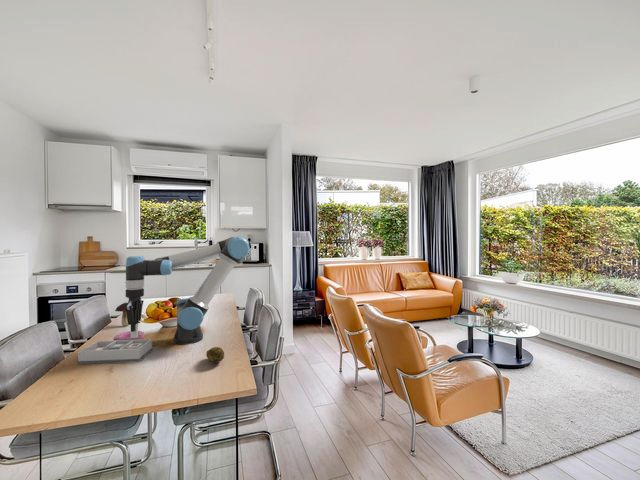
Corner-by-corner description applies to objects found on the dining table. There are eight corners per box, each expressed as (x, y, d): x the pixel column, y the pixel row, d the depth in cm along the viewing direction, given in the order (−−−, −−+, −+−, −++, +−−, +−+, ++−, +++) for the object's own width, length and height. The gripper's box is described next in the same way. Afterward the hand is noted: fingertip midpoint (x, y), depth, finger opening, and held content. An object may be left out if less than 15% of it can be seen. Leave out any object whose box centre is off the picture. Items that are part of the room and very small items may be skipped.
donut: (107, 349, 152) (107, 339, 152) (120, 339, 166) (120, 330, 166) (138, 347, 155) (138, 337, 155) (148, 338, 169) (148, 329, 169)
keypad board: (152, 350, 151) (152, 339, 151) (139, 361, 137) (139, 349, 137) (97, 352, 148) (97, 340, 148) (77, 364, 134) (77, 351, 134)
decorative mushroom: (139, 324, 194) (139, 301, 194) (125, 329, 184) (124, 305, 184) (125, 323, 197) (125, 300, 197) (110, 328, 186) (110, 304, 186)
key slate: (125, 348, 145) (125, 343, 145) (119, 352, 140) (119, 347, 140) (114, 349, 144) (114, 343, 144) (109, 352, 140) (109, 347, 139)
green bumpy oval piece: (225, 356, 143) (225, 339, 143) (224, 367, 131) (224, 349, 131) (206, 358, 141) (206, 341, 141) (203, 370, 128) (203, 351, 128)
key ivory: (142, 348, 146) (142, 342, 146) (138, 351, 141) (138, 346, 141) (132, 348, 145) (132, 343, 145) (127, 352, 140) (127, 346, 140)
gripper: (133, 286, 149) (132, 333, 149) (118, 290, 136) (118, 342, 136) (149, 286, 150) (148, 333, 150) (136, 290, 137) (135, 342, 137)
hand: (134, 337), depth 143 cm, fingers closed
